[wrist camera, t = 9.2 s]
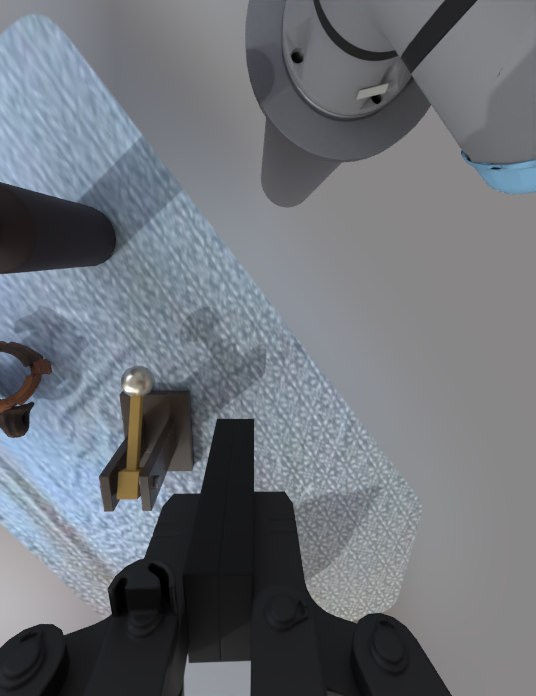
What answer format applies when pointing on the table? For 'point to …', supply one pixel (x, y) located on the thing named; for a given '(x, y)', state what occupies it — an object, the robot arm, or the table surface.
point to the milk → (217, 678)
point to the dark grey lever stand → (153, 445)
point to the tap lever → (134, 429)
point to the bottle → (50, 232)
